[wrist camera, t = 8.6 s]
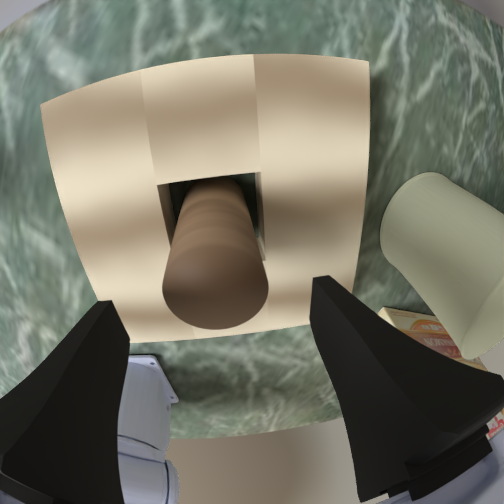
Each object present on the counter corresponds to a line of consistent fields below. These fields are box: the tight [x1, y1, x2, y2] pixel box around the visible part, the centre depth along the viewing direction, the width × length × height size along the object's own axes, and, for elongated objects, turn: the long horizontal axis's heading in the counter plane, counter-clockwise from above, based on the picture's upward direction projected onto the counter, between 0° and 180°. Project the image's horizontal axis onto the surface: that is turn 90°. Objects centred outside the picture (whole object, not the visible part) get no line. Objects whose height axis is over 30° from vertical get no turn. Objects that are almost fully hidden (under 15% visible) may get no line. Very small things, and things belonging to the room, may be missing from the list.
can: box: [380, 172, 504, 359], centre depth 16 cm, size 9×9×12 cm
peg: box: [162, 176, 269, 330], centre depth 14 cm, size 4×4×9 cm
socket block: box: [40, 54, 370, 343], centre depth 17 cm, size 18×18×3 cm
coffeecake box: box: [378, 307, 504, 440], centre depth 20 cm, size 15×7×20 cm, turn 69°
